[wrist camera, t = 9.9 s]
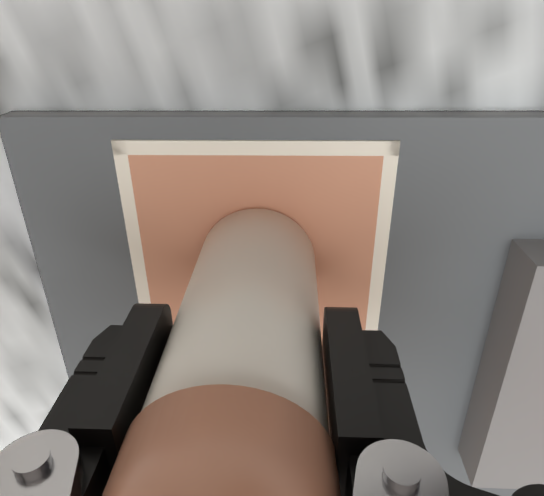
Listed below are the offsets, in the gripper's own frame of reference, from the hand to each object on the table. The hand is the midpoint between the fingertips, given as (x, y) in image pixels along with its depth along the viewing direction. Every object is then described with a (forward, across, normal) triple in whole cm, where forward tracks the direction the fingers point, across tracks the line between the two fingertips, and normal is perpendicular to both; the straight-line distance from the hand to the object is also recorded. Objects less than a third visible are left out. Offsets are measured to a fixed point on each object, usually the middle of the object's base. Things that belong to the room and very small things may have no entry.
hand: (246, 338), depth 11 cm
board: (+5, -5, +4) cm, 8 cm away
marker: (+4, 0, 0) cm, 4 cm away
